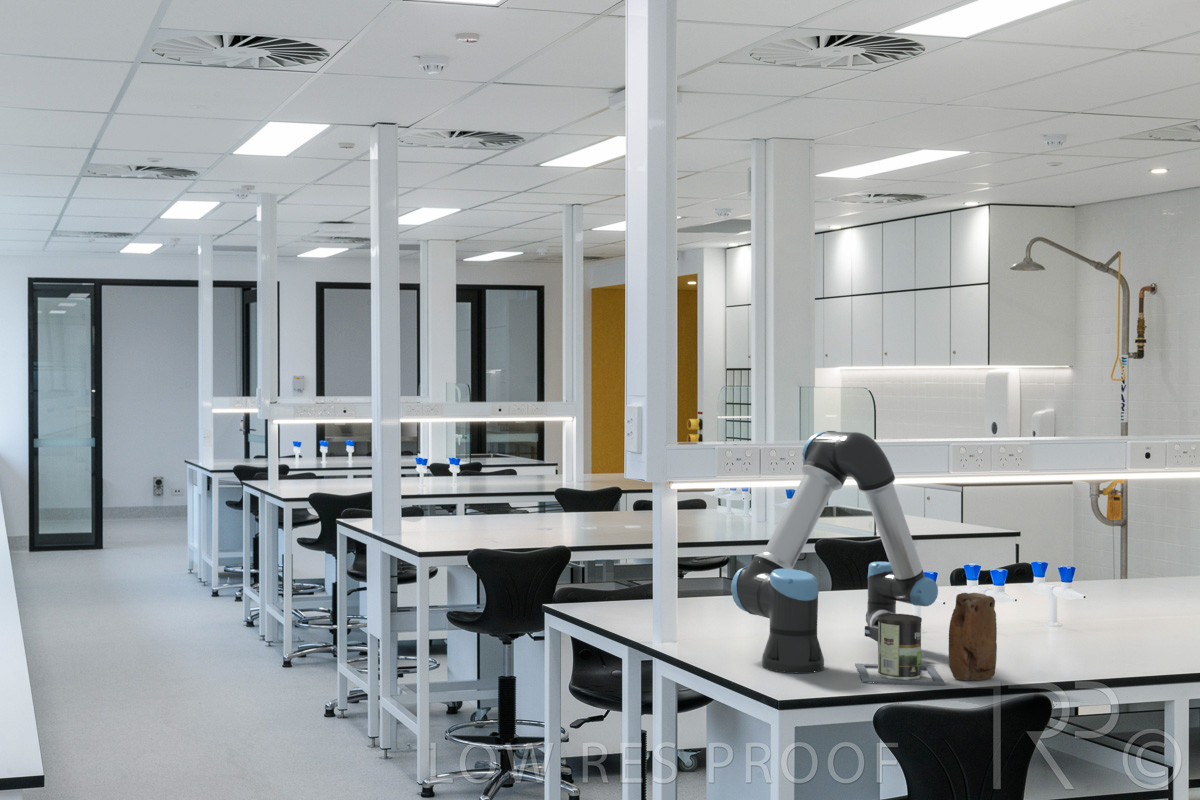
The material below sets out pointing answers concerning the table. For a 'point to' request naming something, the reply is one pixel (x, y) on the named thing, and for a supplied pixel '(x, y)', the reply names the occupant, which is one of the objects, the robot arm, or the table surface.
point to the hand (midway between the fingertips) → (897, 644)
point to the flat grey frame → (931, 670)
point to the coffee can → (899, 646)
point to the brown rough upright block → (973, 637)
